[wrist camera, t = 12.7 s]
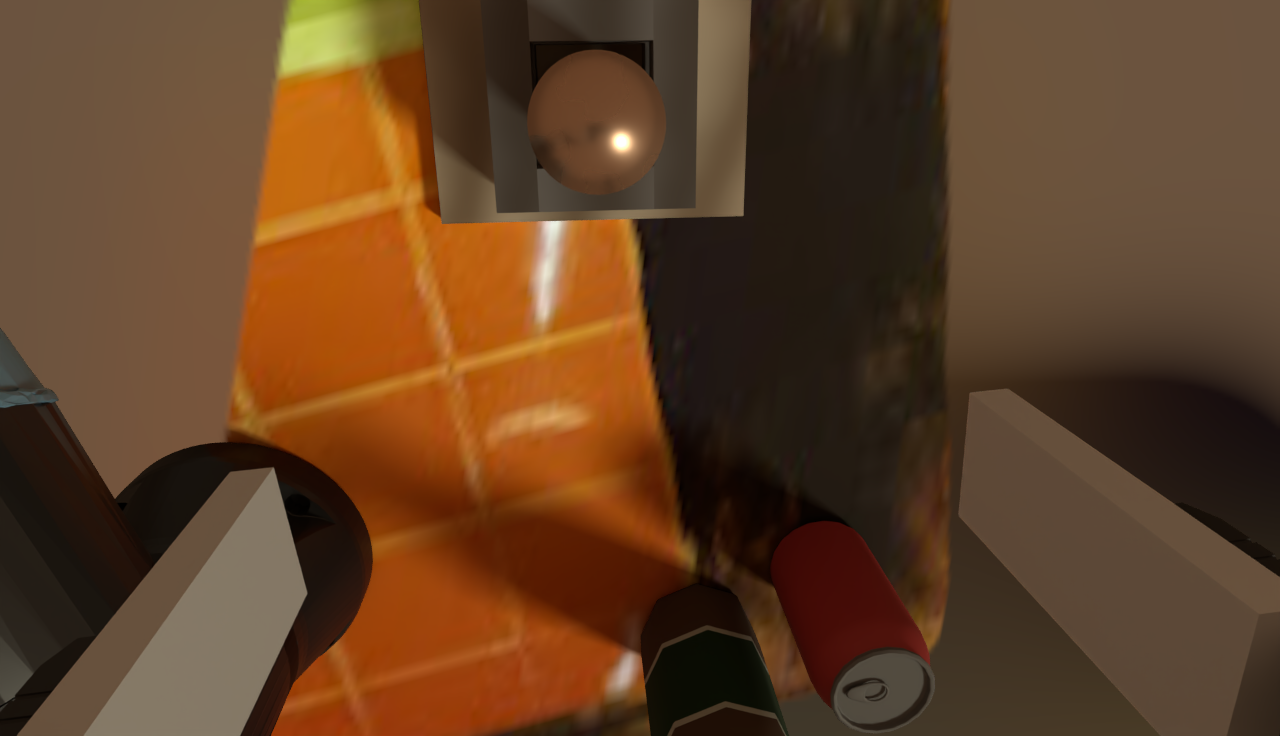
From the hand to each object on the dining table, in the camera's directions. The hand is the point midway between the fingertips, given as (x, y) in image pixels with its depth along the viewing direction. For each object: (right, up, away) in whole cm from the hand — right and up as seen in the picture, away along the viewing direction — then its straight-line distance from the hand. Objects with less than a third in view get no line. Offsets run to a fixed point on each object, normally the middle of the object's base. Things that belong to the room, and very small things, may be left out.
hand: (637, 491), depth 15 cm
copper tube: (-3, +16, +24) cm, 29 cm away
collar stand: (-3, +16, +25) cm, 30 cm away
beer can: (+12, -10, +37) cm, 40 cm away
